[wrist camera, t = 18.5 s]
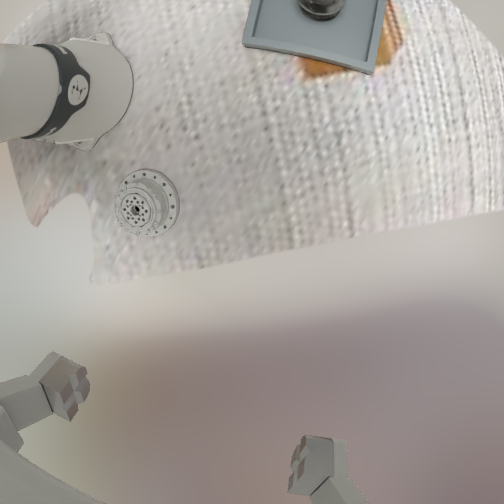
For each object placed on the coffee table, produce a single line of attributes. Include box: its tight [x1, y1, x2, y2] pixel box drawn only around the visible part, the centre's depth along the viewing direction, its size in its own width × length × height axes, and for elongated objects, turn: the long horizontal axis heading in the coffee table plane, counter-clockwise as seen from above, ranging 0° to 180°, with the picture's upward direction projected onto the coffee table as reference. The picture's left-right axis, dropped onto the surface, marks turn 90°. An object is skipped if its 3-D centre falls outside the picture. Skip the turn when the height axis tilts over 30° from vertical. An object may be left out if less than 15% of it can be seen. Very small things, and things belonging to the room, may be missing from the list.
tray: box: [242, 0, 387, 75], centre depth 30 cm, size 16×16×2 cm
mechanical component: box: [114, 169, 179, 237], centre depth 44 cm, size 10×4×10 cm
